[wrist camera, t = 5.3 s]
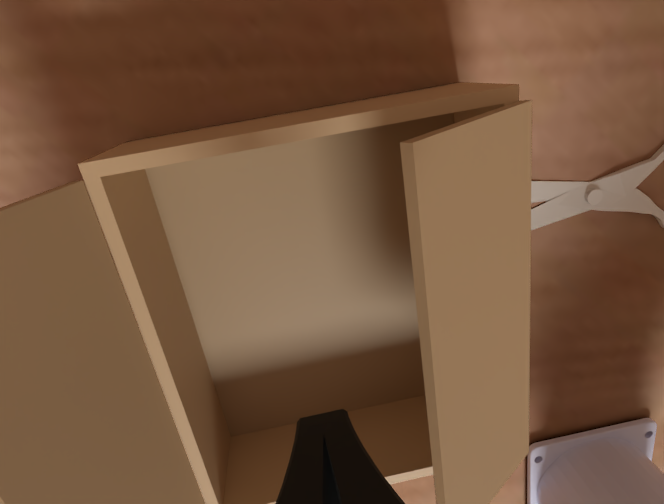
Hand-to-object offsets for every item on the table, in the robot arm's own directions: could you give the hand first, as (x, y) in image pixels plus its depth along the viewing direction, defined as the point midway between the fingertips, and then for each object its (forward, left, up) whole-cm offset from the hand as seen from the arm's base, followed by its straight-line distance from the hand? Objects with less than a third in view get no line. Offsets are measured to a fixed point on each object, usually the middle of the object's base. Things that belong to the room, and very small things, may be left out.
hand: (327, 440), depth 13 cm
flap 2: (0, -6, -3) cm, 6 cm away
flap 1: (0, +7, -2) cm, 7 cm away
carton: (0, -1, -10) cm, 10 cm away
